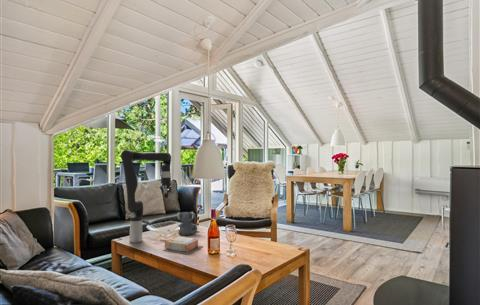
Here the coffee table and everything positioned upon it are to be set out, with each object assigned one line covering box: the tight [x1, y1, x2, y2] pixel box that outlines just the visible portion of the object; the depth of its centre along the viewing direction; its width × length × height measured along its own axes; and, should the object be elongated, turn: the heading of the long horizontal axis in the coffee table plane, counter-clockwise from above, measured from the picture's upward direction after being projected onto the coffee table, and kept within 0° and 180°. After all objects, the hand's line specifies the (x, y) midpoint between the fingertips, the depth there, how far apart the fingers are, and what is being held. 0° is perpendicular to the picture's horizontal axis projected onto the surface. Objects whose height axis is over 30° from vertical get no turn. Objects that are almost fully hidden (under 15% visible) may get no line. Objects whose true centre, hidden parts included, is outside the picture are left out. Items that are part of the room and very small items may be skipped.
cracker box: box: [164, 236, 199, 252], centre depth 229 cm, size 14×6×21 cm
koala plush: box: [176, 211, 198, 236], centre depth 273 cm, size 17×18×20 cm
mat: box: [163, 245, 204, 256], centre depth 228 cm, size 22×20×1 cm
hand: (166, 197), depth 251 cm, fingers closed
